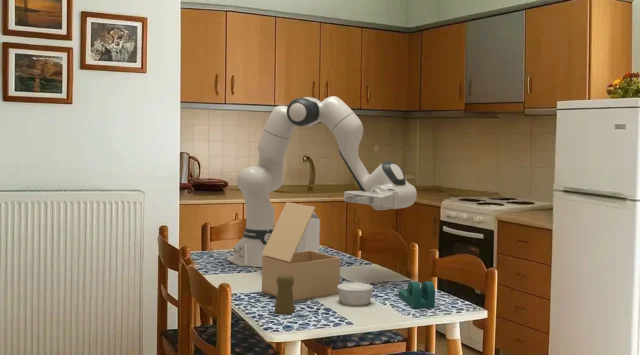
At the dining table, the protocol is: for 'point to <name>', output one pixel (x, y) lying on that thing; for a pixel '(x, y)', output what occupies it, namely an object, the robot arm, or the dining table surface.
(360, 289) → the ramekin
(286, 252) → the carton flap
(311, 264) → the kraft carton
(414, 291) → the bracket
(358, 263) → the dining table surface
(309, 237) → the milk carton
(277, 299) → the olive pepper mill
